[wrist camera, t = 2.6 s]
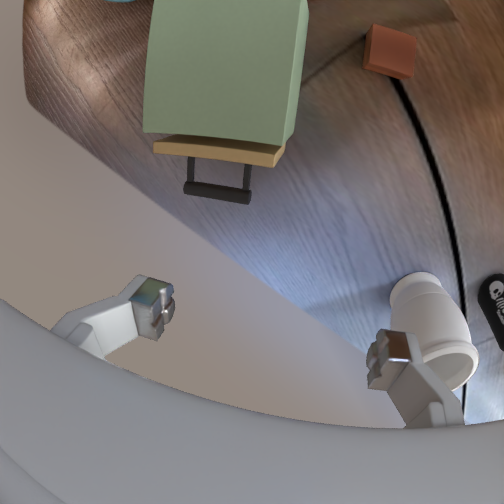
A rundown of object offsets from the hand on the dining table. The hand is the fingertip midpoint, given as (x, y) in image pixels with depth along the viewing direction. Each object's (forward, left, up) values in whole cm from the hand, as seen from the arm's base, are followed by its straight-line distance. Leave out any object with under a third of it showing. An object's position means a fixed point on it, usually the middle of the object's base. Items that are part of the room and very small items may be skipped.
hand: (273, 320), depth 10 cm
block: (-15, +6, -24) cm, 29 cm away
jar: (+14, +19, -25) cm, 34 cm away
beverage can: (+10, +33, -25) cm, 43 cm away
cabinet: (-11, -9, -24) cm, 28 cm away
